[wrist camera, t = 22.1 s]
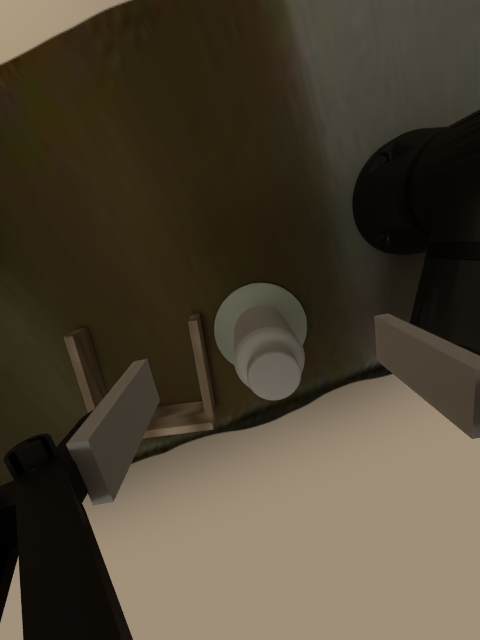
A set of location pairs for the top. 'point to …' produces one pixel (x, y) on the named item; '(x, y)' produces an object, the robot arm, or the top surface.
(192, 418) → the oak stall
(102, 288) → the top surface
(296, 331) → the sage coaster
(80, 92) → the top surface
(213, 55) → the top surface
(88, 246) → the top surface
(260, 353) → the pill bottle
